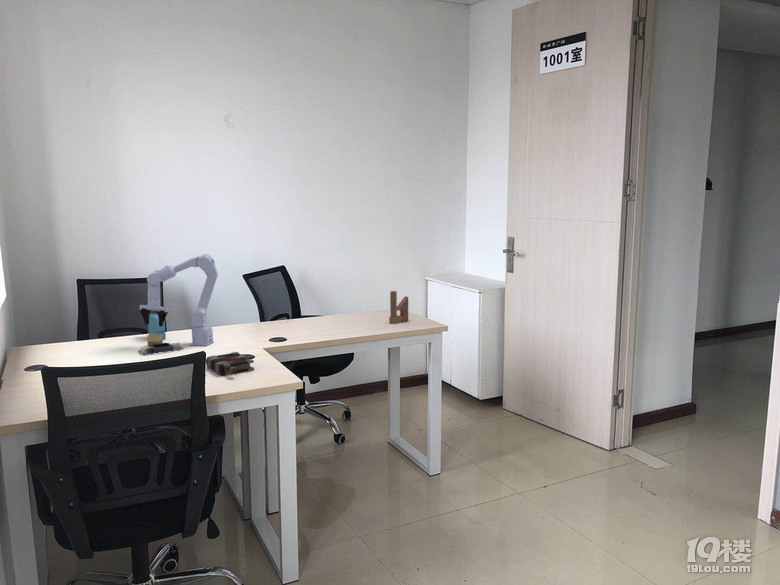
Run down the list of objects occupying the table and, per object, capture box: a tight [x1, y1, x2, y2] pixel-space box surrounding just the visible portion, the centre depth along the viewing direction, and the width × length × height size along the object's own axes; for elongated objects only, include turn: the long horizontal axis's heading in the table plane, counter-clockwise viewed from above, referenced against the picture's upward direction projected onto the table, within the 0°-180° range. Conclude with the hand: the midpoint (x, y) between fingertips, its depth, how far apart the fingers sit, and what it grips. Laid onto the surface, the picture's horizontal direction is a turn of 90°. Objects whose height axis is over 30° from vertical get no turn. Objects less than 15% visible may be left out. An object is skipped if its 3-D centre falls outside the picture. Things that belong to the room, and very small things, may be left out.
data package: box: [147, 313, 167, 340], centre depth 328 cm, size 12×4×12 cm, turn 40°
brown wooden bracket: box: [388, 290, 409, 324], centre depth 360 cm, size 4×11×18 cm, turn 121°
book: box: [205, 351, 255, 376], centre depth 269 cm, size 15×25×5 cm, turn 36°
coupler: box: [146, 333, 164, 347], centre depth 312 cm, size 5×5×6 cm
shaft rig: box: [137, 342, 184, 356], centre depth 304 cm, size 18×10×2 cm, turn 125°
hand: (153, 325), depth 311 cm, fingers open, 7 cm apart
